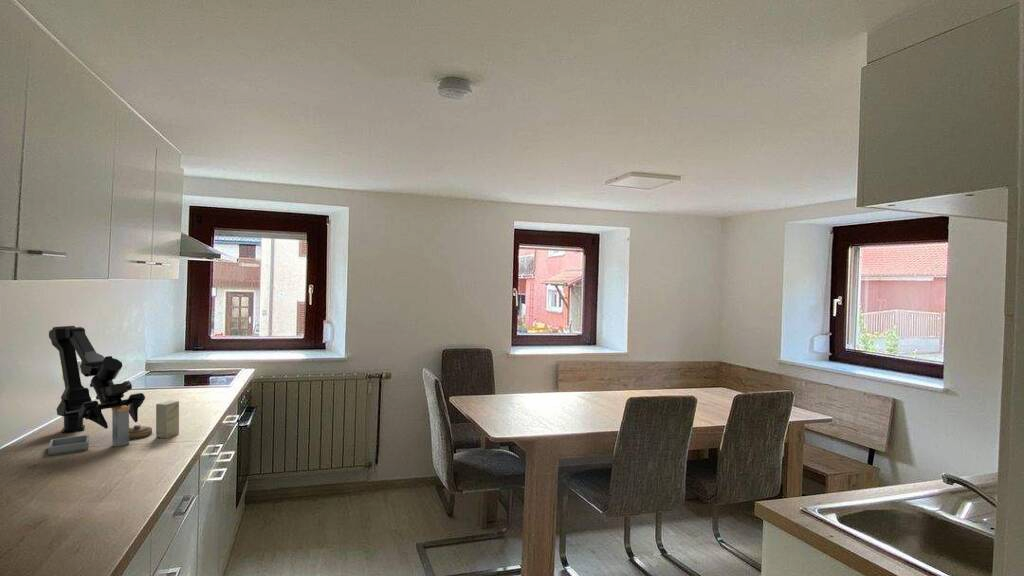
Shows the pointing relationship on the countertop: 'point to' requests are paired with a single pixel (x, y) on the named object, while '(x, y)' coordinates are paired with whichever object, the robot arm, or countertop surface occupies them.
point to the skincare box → (167, 419)
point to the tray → (68, 444)
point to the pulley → (139, 431)
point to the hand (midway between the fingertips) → (122, 424)
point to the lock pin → (120, 425)
